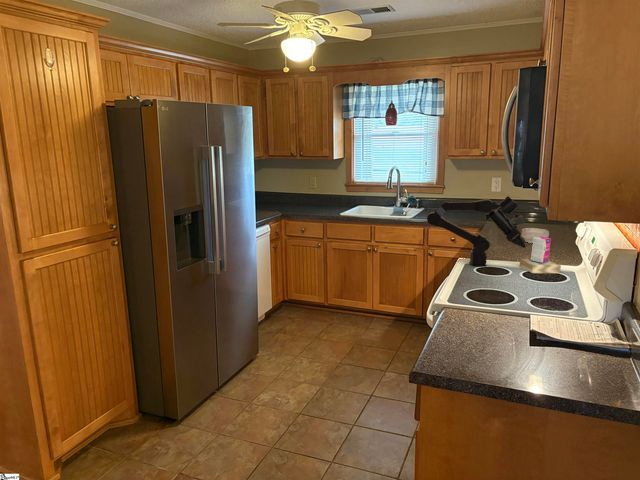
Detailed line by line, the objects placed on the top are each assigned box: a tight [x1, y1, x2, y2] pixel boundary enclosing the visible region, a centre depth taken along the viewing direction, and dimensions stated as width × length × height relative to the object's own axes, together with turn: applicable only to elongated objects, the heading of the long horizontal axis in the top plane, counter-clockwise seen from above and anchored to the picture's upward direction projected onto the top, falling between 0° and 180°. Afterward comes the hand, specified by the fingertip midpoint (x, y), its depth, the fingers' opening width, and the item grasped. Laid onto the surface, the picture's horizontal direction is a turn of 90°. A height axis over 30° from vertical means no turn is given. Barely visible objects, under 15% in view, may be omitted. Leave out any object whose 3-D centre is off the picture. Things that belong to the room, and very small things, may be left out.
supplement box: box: [530, 237, 552, 264], centre depth 224 cm, size 6×6×12 cm
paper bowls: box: [520, 227, 550, 244], centre depth 293 cm, size 15×15×8 cm
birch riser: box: [519, 258, 562, 274], centre depth 226 cm, size 13×13×4 cm
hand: (524, 245), depth 226 cm, fingers open, 9 cm apart
